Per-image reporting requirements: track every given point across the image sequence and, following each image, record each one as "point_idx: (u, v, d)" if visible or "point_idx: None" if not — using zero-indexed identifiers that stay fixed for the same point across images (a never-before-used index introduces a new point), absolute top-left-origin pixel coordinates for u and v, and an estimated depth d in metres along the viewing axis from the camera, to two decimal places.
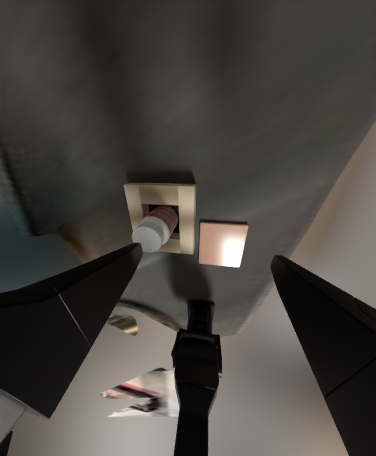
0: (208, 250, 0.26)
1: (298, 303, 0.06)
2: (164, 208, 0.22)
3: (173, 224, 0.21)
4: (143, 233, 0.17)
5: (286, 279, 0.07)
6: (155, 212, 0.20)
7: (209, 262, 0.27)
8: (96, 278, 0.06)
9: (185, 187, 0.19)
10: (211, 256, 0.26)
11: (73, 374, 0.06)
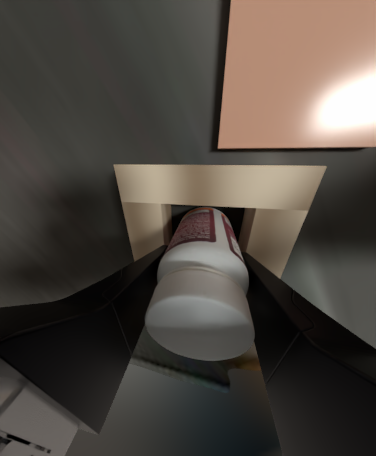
0: (326, 110, 0.07)
1: (252, 297, 0.06)
2: None
3: (202, 221, 0.08)
4: (170, 333, 0.05)
5: None
6: None
7: None
8: (138, 284, 0.06)
9: (120, 186, 0.09)
10: (358, 93, 0.07)
11: (116, 384, 0.05)
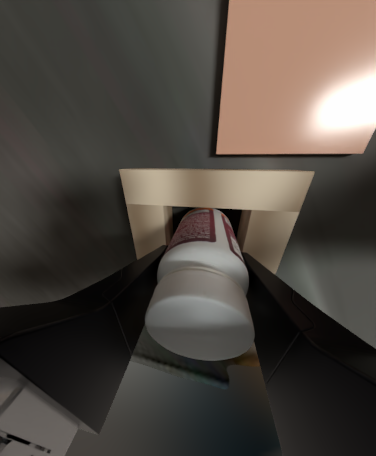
0: (314, 120, 0.08)
1: (251, 297, 0.06)
2: None
3: (202, 221, 0.08)
4: (170, 333, 0.05)
5: None
6: None
7: (374, 109, 0.07)
8: (138, 284, 0.06)
9: (125, 189, 0.10)
10: (343, 105, 0.08)
11: (117, 384, 0.05)
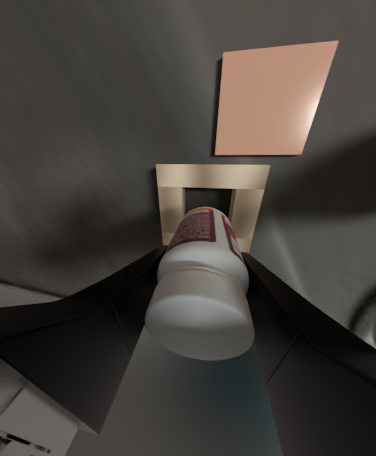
0: (271, 135, 0.14)
1: (251, 297, 0.06)
2: None
3: (201, 221, 0.08)
4: (170, 333, 0.05)
5: None
6: None
7: (304, 130, 0.13)
8: (138, 284, 0.06)
9: (158, 176, 0.15)
10: (286, 127, 0.13)
11: (116, 385, 0.05)
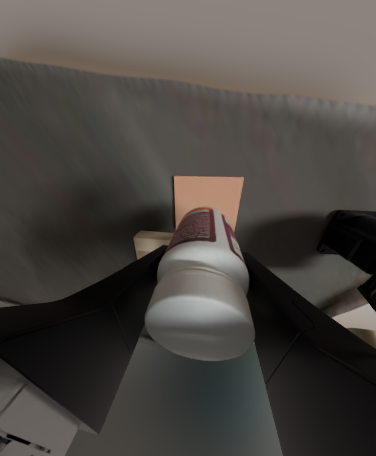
0: None
1: (251, 297, 0.06)
2: None
3: (201, 221, 0.08)
4: (170, 333, 0.05)
5: None
6: None
7: (232, 220, 0.19)
8: (138, 284, 0.06)
9: (135, 244, 0.21)
10: None
11: (116, 385, 0.05)
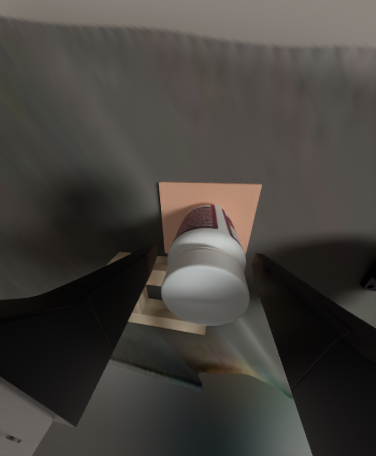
0: None
1: (272, 300, 0.06)
2: None
3: (205, 213, 0.09)
4: (181, 301, 0.06)
5: (263, 276, 0.07)
6: None
7: (243, 243, 0.14)
8: (119, 281, 0.06)
9: None
10: None
11: (96, 380, 0.06)
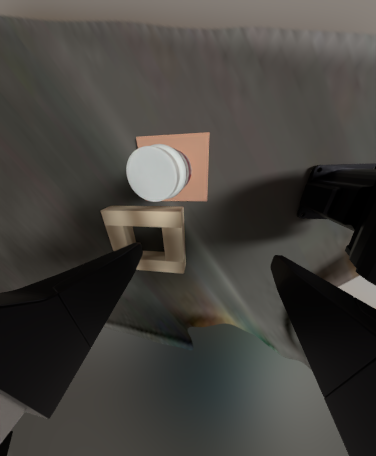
0: None
1: (298, 303, 0.06)
2: None
3: None
4: (139, 179, 0.10)
5: (286, 279, 0.07)
6: None
7: (204, 185, 0.18)
8: (96, 278, 0.06)
9: (104, 218, 0.20)
10: (191, 183, 0.18)
11: (73, 374, 0.06)
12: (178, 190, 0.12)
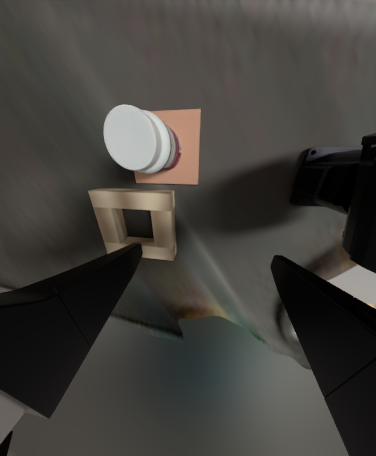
0: (173, 170, 0.18)
1: (298, 303, 0.06)
2: None
3: None
4: (117, 144, 0.10)
5: (286, 279, 0.07)
6: None
7: (194, 167, 0.17)
8: (96, 278, 0.06)
9: (91, 199, 0.20)
10: (182, 165, 0.17)
11: (73, 374, 0.06)
12: (162, 162, 0.12)
